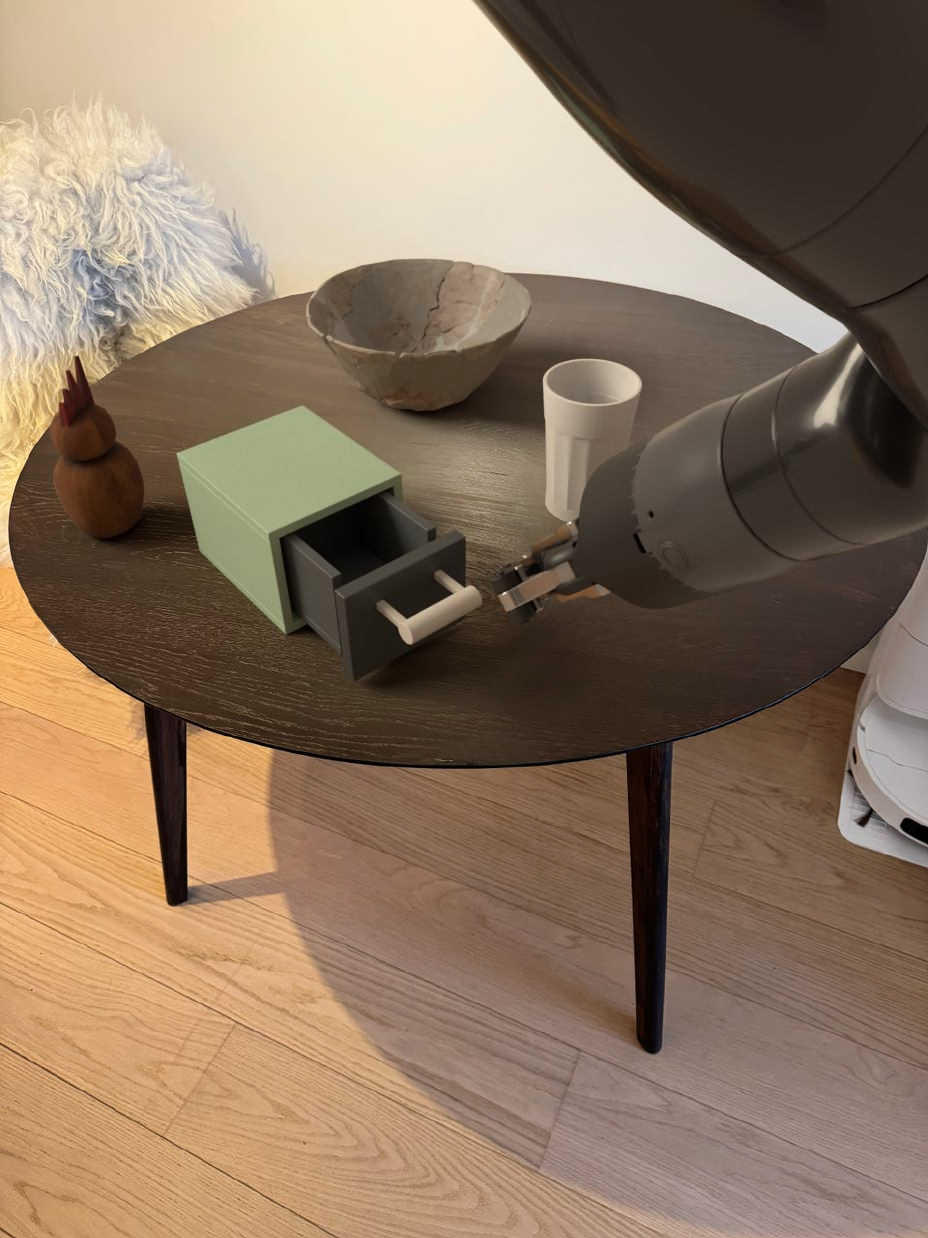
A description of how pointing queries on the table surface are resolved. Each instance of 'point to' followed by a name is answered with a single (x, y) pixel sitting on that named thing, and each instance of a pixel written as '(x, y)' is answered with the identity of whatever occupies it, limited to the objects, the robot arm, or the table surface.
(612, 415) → the cup
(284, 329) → the table surface
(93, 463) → the wooden figurine
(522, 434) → the table surface
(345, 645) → the fryer drawer
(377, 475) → the green drawer cabinet
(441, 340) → the ceramic bowl
